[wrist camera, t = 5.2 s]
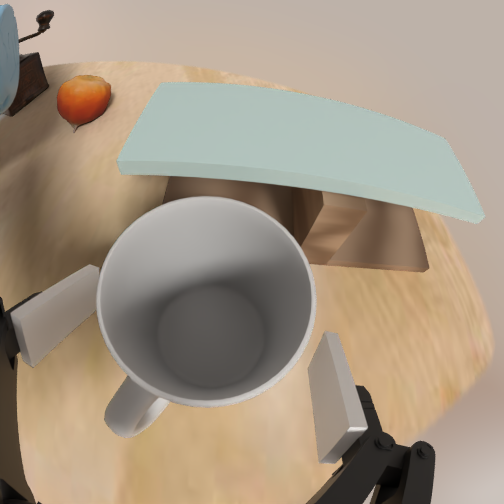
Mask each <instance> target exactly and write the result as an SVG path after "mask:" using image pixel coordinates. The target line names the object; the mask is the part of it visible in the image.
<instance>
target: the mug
mask: <svg viewBox="0 0 504 504" xmlns="http://www.w3.org/2000/svg"><path fill="white" fill-rule="evenodd" d="M96 308H97V317H98V322H99V327H100V330H101V333H102V336H103V339H104V341H105V344H106V346H107V348H108V349H109V351H110V353H111V355H112V357H113V358H114V359H115V361H116V362H117V364H118V365H119V366H120V368H121V369H122V370H123V371H124V372H125V373H126V374H127V375H128V376H127V377H126V379H125V381H124V382H123V384H122V385H121V386H120V388H119V389H118V391H117V392H116V393H115V395H114V396H113V398H112V399H111V401H110V403H109V404H108V406H107V408H106V411H105V418H104V420H105V422H106V424H107V426H108V427H109V428H110V429H111V430H112V431H113V432H114V433H115V434H117V435H118V436H121V437H124V438H130V437H134V436H136V435H138V434H139V433H141V432H142V431H144V430H145V429H146V428H147V427H149V426H150V425H151V424H152V423H153V422H154V421H155V420H156V419H157V418H158V416H159V415H160V414H161V413H162V412H163V410H164V409H165V408H166V407H167V405H168V404H169V403H170V401H171V402H173V403H177V404H181V405H186V406H191V407H205V408H210V407H222V406H228V405H232V404H236V403H240V402H243V401H246V400H248V399H251V398H253V397H256V396H257V395H259V394H261V393H263V392H264V391H266V390H268V389H270V388H271V387H272V386H273V385H275V384H276V383H277V382H279V381H280V380H281V379H282V378H283V377H284V376H285V375H286V374H287V373H288V372H289V371H290V370H291V369H292V368H293V367H294V365H295V364H296V362H297V361H298V359H299V358H300V357H301V355H302V353H303V351H304V349H305V348H306V346H307V344H308V342H309V339H310V336H311V333H312V330H313V326H314V321H315V316H316V288H315V282H314V278H313V273H312V270H311V268H310V265H309V262H308V260H307V258H306V256H305V254H304V252H303V250H302V248H301V247H300V246H299V244H298V243H297V241H296V240H295V238H294V237H293V236H292V235H291V234H290V233H289V232H288V230H287V229H286V228H285V227H283V226H282V225H281V224H280V223H279V222H278V221H277V220H275V219H274V218H272V217H271V216H269V215H268V214H267V213H265V212H263V211H261V210H259V209H258V208H256V207H254V206H251V205H249V204H246V203H244V202H240V201H237V200H233V199H229V198H222V197H213V196H199V197H189V198H183V199H178V200H175V201H171V202H168V203H166V204H163V205H161V206H158V207H156V208H154V209H152V210H151V211H149V212H147V213H145V214H144V215H142V216H141V217H139V218H138V219H137V220H135V221H134V222H133V223H132V224H131V225H130V226H129V227H128V228H126V229H125V230H124V232H123V233H122V234H121V235H120V236H119V237H118V239H117V240H116V241H115V243H114V244H113V246H112V247H111V249H110V250H109V252H108V254H107V256H106V259H105V261H104V263H103V266H102V269H101V272H100V275H99V280H98V285H97V293H96Z"/></svg>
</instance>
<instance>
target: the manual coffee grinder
mask: <svg viewBox="0 0 504 504" xmlns="http://www.w3.org/2000/svg"><path fill="white" fill-rule="evenodd" d="M53 16H54V12H53V11H51V10H47V11H43V12H41V13H40V14H39V15H38V16H37V18H36V21H37V22H38V23H39V29H38V31H39V32H37V33H35V34H32V35H29V36H27V37H24V38H21V39H19V40H18V41H19V43H20V42H22V41H25V40H27V39H30V38H33V37H35V36H38V35H40V34H41V33H44V31H46V30H47V29H49V28H50V26H49V22H50V21H51V19H52V18H53ZM47 87H49V84H48V83H47V80H46V77H45V74H44V70H43V67H42V63H41V59H40V55H39V53H38V52H37V53H30V54H26V55H22V54H21V55H19V82H18V88H17V92H16V96H15V98H14V100H13V102H12V104H11V105H10V107H9V108H8V109H7V110H6V111H5V112H4V113H3V114H6V115H8V116H13V115H15V114H16V113H17V112H18V111H19V110H21V109H22V108H23V107H24V106H25V105H27V104H28V103H29V102H31V101H32V100H33V99H34V98H35V97H36V96H38V95H39V94H40V93H41V92H43V91H44V90H45V89H46V88H47Z"/></svg>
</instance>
